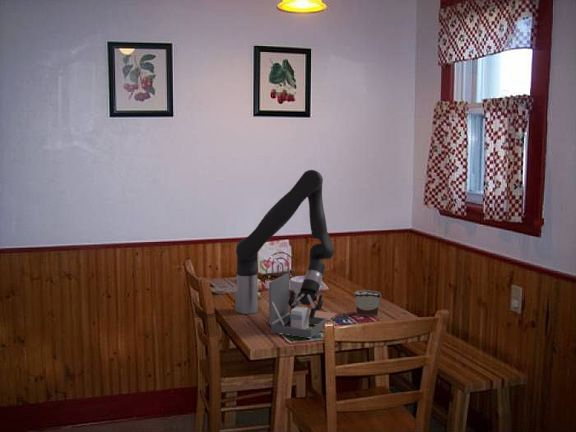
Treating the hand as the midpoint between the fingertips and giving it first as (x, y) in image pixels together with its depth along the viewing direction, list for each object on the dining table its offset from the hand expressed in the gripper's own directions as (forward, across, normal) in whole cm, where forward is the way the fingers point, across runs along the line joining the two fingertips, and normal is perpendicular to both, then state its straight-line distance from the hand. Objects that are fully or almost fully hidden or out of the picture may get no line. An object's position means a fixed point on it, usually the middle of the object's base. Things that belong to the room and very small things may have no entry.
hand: (301, 316), depth 270 cm
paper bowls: (-32, -20, +40) cm, 55 cm away
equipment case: (+5, 0, +3) cm, 6 cm away
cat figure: (-26, -44, +34) cm, 61 cm away
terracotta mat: (-8, 0, +16) cm, 18 cm away
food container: (-19, +18, +27) cm, 38 cm away
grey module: (+5, 0, +3) cm, 6 cm away
